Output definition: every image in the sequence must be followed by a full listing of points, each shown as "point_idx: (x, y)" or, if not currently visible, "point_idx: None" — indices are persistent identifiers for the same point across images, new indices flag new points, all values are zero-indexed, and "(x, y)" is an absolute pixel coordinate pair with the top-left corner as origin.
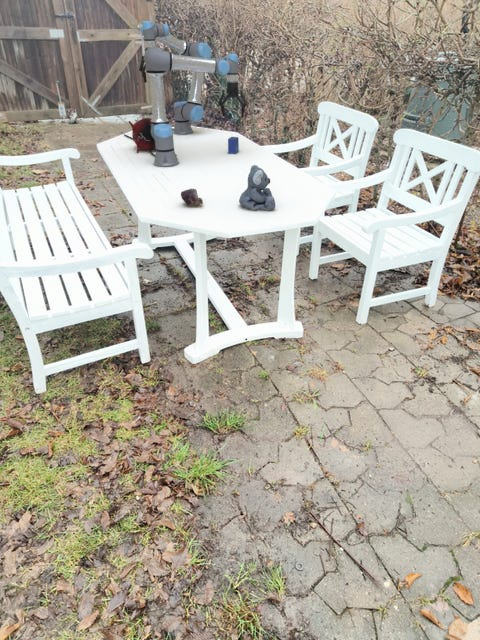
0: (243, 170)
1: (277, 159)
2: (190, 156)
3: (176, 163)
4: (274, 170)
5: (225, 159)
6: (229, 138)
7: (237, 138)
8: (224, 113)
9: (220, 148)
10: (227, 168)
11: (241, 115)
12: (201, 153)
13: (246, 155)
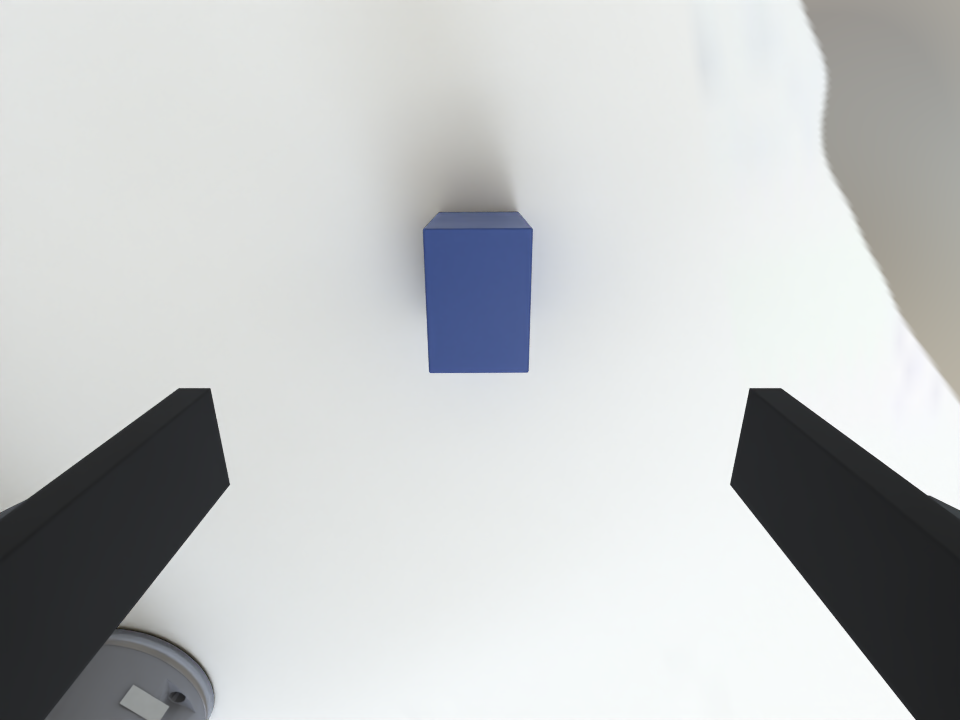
0: (695, 682)
1: (946, 383)
2: None
3: (210, 700)
4: None
5: (489, 500)
6: (436, 337)
7: (530, 272)
8: (175, 448)
9: (271, 140)
10: (578, 673)
11: (760, 520)
12: None
13: (637, 336)
